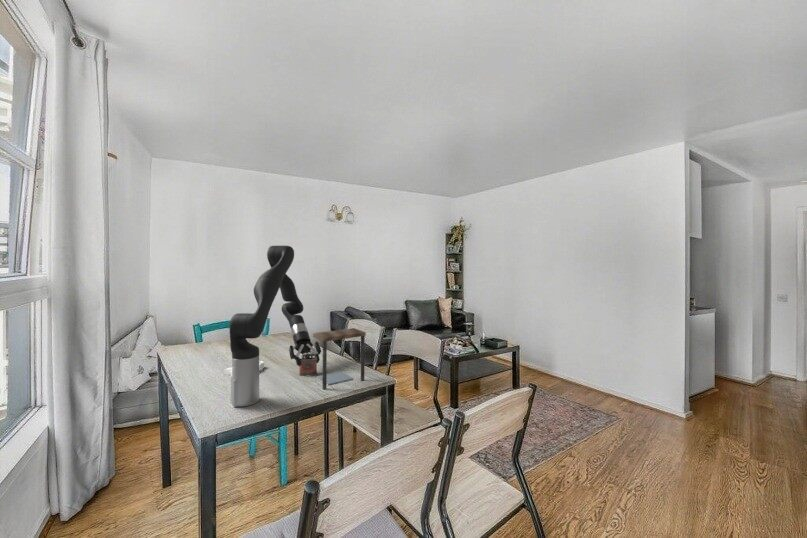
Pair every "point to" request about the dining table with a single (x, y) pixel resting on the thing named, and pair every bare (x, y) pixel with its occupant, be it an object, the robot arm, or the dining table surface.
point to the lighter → (308, 365)
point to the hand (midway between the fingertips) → (309, 363)
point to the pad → (336, 377)
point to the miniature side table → (336, 336)
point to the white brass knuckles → (229, 370)
